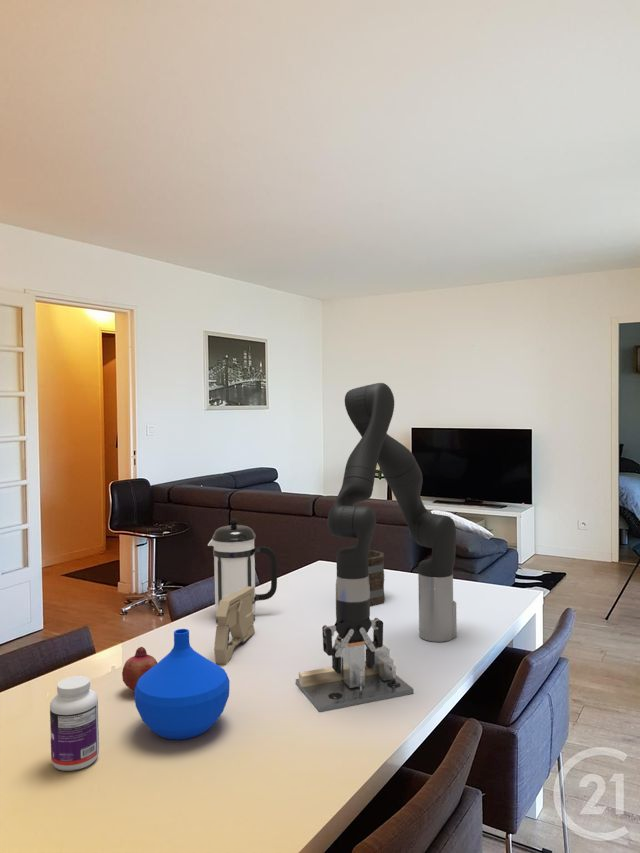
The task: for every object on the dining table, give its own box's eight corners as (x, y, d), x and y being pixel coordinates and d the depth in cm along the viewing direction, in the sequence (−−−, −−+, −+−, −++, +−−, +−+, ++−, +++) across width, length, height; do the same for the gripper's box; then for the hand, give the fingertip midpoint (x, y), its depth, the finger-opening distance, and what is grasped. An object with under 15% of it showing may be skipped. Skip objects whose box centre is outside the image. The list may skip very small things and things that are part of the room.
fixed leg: (381, 665, 154) (380, 642, 154) (402, 682, 144) (402, 658, 144) (365, 668, 153) (365, 645, 153) (386, 685, 143) (386, 661, 143)
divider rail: (386, 667, 154) (386, 657, 154) (391, 671, 151) (391, 661, 151) (298, 683, 146) (298, 672, 146) (302, 687, 144) (302, 676, 143)
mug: (356, 592, 220) (356, 548, 220) (393, 597, 213) (392, 552, 213) (326, 608, 203) (325, 560, 203) (365, 614, 196) (364, 565, 196)
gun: (225, 666, 158) (226, 604, 159) (212, 666, 159) (213, 603, 160) (255, 640, 182) (255, 586, 183) (244, 639, 183) (244, 585, 183)
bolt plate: (382, 668, 156) (382, 663, 156) (413, 693, 142) (413, 688, 142) (295, 683, 148) (295, 678, 148) (319, 711, 134) (319, 706, 134)
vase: (185, 761, 116) (182, 655, 115) (114, 735, 126) (112, 637, 125) (249, 719, 131) (247, 625, 131) (182, 698, 141) (180, 611, 140)
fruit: (120, 688, 147) (119, 644, 147) (156, 681, 150) (156, 638, 150) (124, 702, 140) (123, 656, 139) (163, 695, 143) (162, 650, 143)
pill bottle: (59, 750, 120) (57, 673, 120) (104, 748, 121) (102, 671, 121) (44, 775, 112) (42, 692, 112) (92, 772, 113) (90, 690, 112)
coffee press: (234, 630, 184) (232, 524, 183) (200, 618, 195) (198, 518, 194) (279, 615, 197) (277, 516, 196) (244, 604, 208) (242, 511, 207)
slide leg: (350, 670, 151) (349, 629, 151) (370, 689, 141) (369, 644, 141) (334, 673, 150) (333, 631, 150) (353, 692, 140) (352, 647, 140)
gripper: (374, 587, 150) (375, 658, 150) (316, 595, 145) (317, 668, 145) (389, 596, 143) (390, 670, 143) (328, 604, 138) (329, 681, 138)
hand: (353, 669), depth 144 cm, fingers open, 7 cm apart
